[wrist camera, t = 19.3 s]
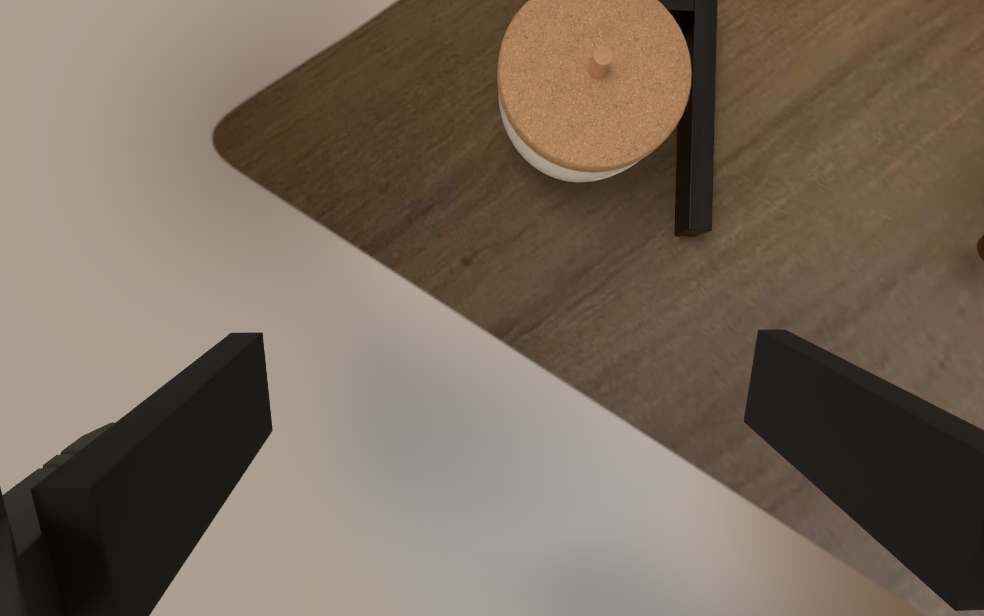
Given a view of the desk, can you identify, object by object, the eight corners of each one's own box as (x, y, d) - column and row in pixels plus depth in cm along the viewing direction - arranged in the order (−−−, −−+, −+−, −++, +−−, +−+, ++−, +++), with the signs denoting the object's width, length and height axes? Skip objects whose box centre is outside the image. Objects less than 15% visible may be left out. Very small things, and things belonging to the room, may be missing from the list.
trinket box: (674, 157, 37) (742, 100, 27) (537, 227, 36) (560, 195, 27) (602, 20, 37) (646, -83, 27) (465, 89, 36) (462, 9, 27)
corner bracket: (530, 230, 36) (534, 223, 34) (537, 3, 37) (542, -21, 34) (695, 236, 37) (711, 230, 34) (701, 12, 37) (717, -11, 35)
